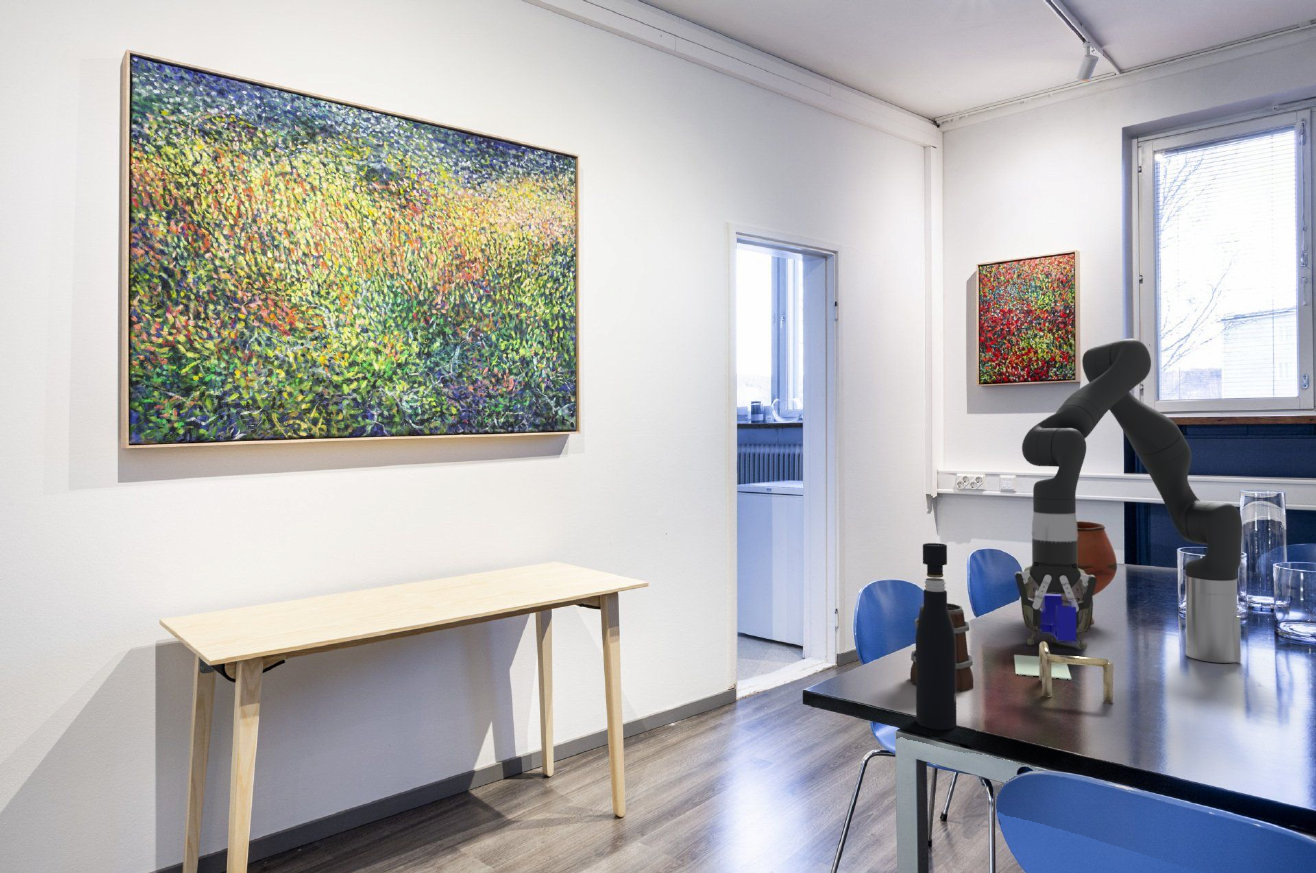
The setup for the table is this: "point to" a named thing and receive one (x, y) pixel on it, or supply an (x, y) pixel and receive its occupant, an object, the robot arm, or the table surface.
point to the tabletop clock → (1078, 592)
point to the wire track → (1047, 658)
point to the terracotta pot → (1095, 554)
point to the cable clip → (1058, 618)
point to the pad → (1031, 667)
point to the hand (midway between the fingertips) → (1055, 629)
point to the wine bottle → (935, 648)
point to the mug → (962, 658)
